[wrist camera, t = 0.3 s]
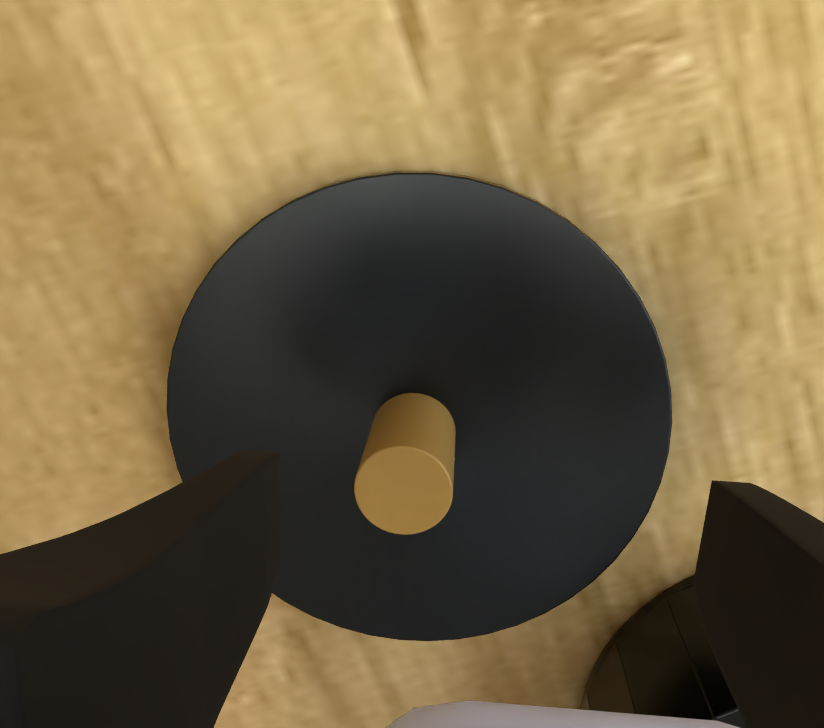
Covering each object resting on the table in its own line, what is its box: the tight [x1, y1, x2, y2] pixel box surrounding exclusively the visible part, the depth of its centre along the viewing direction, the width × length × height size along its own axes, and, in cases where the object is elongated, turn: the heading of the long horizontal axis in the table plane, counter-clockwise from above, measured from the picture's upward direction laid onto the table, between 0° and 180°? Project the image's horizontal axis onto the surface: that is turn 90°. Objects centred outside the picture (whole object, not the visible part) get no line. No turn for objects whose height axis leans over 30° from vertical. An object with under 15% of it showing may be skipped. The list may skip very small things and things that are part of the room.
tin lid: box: [167, 171, 672, 641], centre depth 21 cm, size 14×14×5 cm
